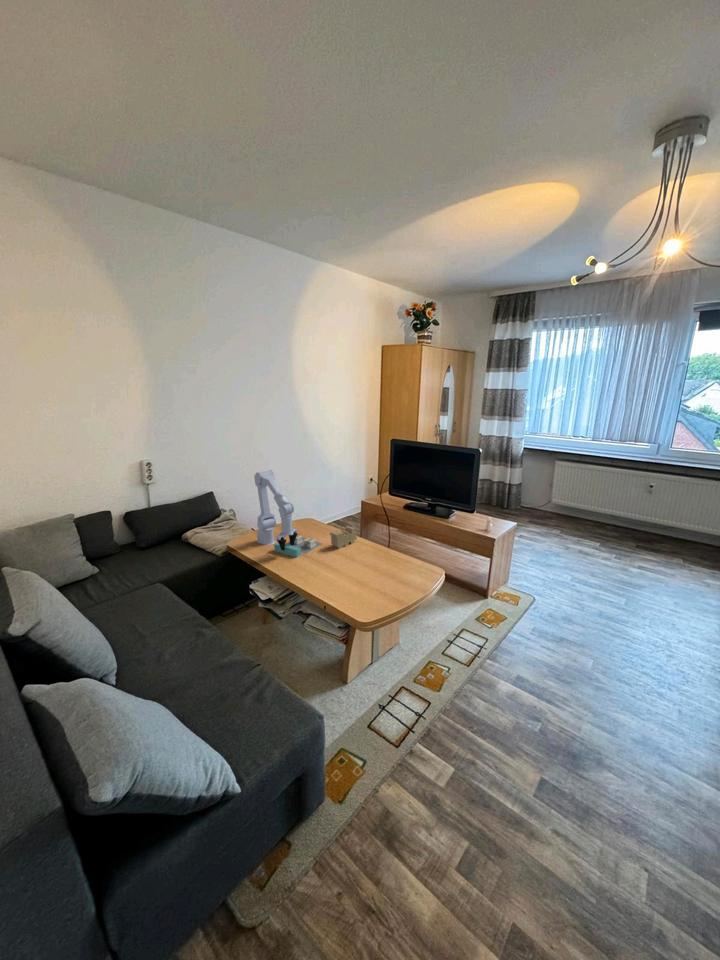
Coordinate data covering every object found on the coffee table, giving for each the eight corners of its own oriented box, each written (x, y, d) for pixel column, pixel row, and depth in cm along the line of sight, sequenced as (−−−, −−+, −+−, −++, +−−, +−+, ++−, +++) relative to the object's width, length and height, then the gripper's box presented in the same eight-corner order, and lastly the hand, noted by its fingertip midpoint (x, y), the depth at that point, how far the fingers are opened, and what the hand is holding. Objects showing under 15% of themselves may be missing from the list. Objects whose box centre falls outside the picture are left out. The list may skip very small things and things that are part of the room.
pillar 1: (290, 542, 228) (290, 536, 227) (296, 540, 232) (296, 533, 231) (297, 544, 226) (297, 538, 225) (302, 541, 230) (302, 535, 229)
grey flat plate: (281, 547, 223) (281, 546, 223) (299, 537, 237) (299, 537, 237) (305, 554, 215) (305, 553, 214) (322, 544, 228) (322, 543, 228)
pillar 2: (304, 546, 223) (303, 540, 222) (309, 543, 227) (309, 537, 226) (310, 548, 221) (310, 542, 220) (316, 545, 225) (316, 539, 224)
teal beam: (274, 552, 217) (274, 544, 216) (278, 550, 220) (278, 542, 219) (297, 558, 210) (296, 550, 209) (301, 556, 213) (300, 548, 212)
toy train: (356, 542, 232) (357, 527, 229) (336, 551, 220) (336, 534, 217) (350, 540, 235) (350, 524, 233) (329, 548, 223) (329, 532, 221)
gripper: (283, 530, 202) (284, 554, 206) (300, 522, 215) (301, 544, 218) (273, 527, 206) (274, 550, 209) (291, 519, 218) (291, 541, 221)
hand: (287, 547), depth 214 cm, fingers open, 7 cm apart
